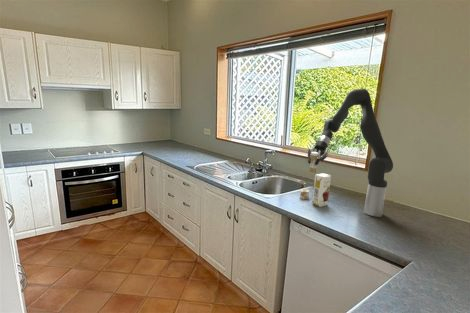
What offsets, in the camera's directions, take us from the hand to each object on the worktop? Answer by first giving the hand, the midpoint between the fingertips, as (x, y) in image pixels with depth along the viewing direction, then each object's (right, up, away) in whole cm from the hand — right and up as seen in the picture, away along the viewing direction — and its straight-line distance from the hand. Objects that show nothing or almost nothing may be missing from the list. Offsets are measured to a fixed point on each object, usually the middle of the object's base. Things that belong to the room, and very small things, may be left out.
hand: (312, 163), depth 172 cm
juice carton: (+1, -25, -10) cm, 27 cm away
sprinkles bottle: (+1, -6, +3) cm, 7 cm away
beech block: (-5, -22, 0) cm, 23 cm away
